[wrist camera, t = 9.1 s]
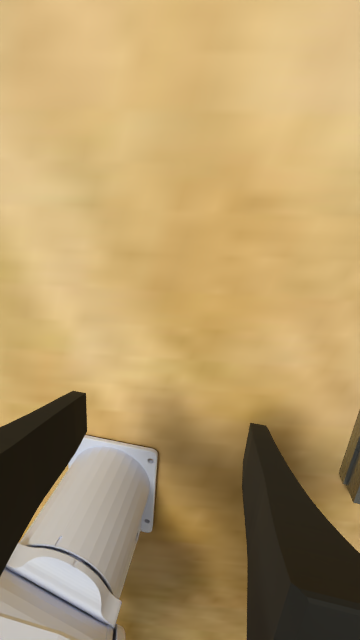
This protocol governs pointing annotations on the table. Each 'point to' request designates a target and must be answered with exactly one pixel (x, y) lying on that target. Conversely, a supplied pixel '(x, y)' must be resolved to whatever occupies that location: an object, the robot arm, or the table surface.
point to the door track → (352, 464)
